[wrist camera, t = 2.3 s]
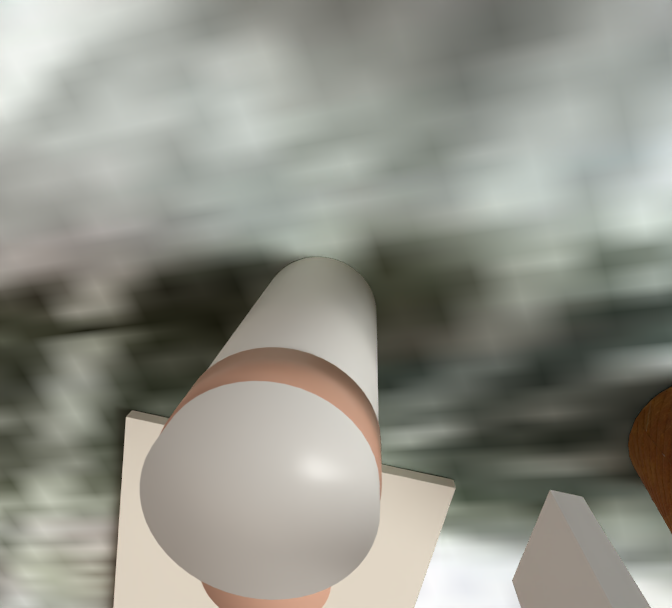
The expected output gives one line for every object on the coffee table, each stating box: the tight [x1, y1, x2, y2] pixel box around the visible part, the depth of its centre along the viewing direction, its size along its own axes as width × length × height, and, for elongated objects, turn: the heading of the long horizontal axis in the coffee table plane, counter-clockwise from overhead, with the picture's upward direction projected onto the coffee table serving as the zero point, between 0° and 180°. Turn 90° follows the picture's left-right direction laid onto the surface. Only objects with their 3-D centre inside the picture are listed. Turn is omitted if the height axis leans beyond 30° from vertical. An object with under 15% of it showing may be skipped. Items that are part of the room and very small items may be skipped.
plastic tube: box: [140, 257, 382, 600], centre depth 16 cm, size 5×5×12 cm
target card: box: [113, 410, 455, 608], centre depth 26 cm, size 16×16×1 cm
